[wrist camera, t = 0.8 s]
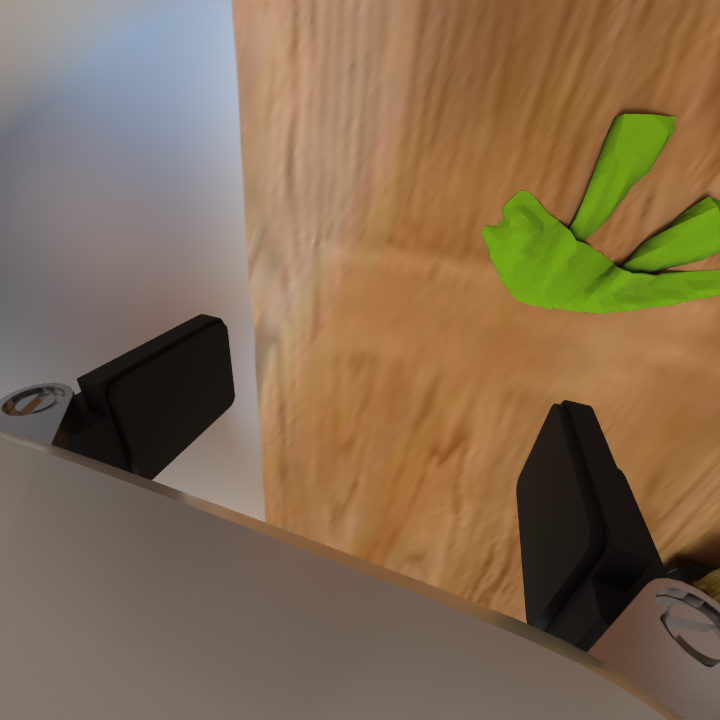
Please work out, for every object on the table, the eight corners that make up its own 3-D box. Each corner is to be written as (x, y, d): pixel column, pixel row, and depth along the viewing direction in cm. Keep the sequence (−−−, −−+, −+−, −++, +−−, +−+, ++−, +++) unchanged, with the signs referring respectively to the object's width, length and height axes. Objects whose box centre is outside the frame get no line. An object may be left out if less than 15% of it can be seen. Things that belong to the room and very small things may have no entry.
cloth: (448, 241, 35) (446, 246, 33) (694, -27, 23) (714, -46, 21) (595, 377, 36) (601, 390, 34) (895, 193, 24) (932, 196, 22)
